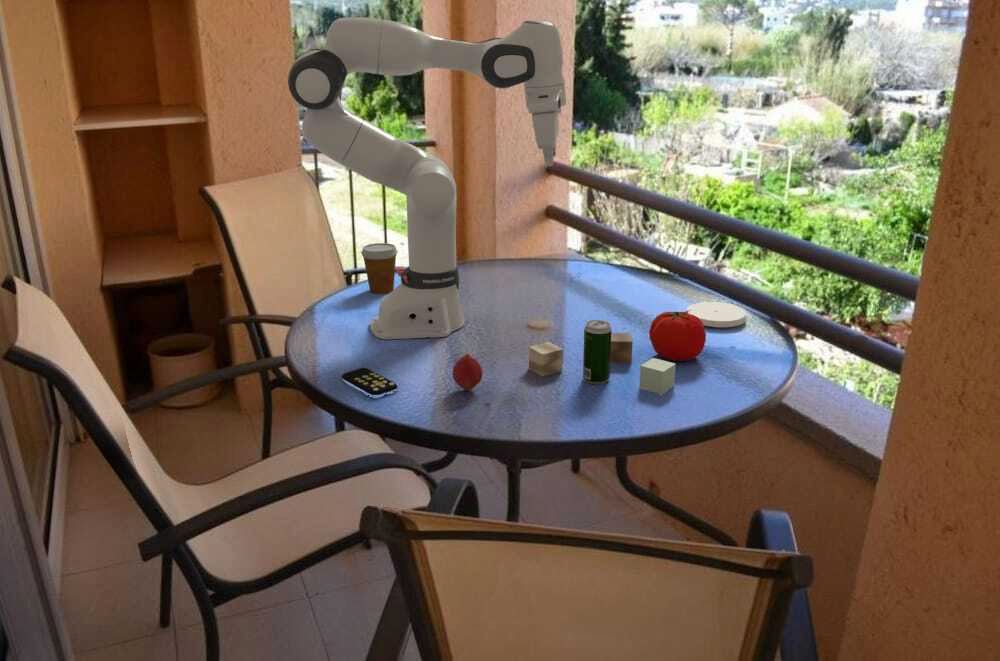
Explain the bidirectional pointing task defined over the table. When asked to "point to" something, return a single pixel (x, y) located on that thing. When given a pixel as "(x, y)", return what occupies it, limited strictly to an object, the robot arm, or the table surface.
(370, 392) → the remote control
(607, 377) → the beer can
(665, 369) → the sage painted block
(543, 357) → the beech block
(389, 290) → the disposable coffee cup
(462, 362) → the onion
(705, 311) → the plastic lid
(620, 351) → the walnut block
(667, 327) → the tomato
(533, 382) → the table surface
